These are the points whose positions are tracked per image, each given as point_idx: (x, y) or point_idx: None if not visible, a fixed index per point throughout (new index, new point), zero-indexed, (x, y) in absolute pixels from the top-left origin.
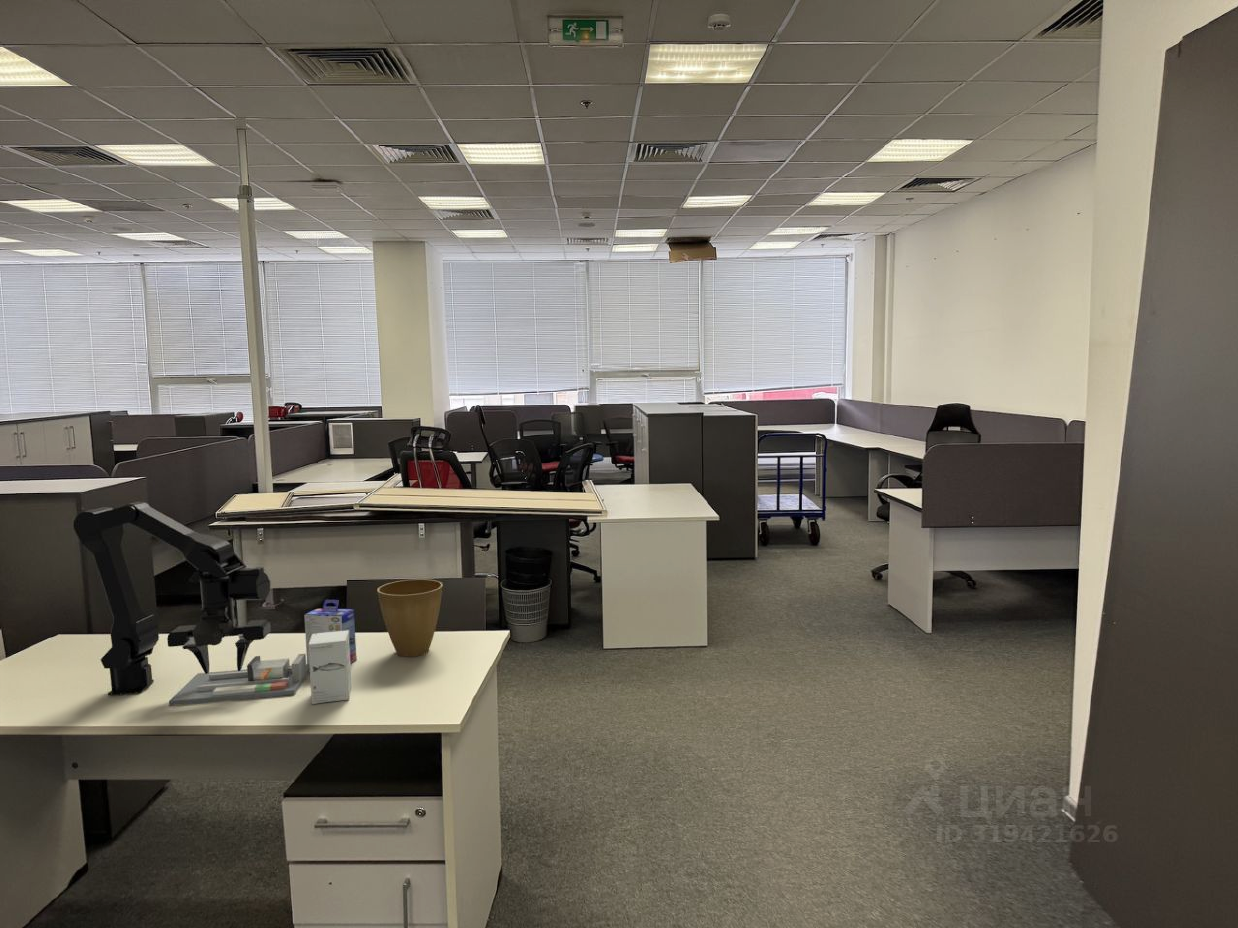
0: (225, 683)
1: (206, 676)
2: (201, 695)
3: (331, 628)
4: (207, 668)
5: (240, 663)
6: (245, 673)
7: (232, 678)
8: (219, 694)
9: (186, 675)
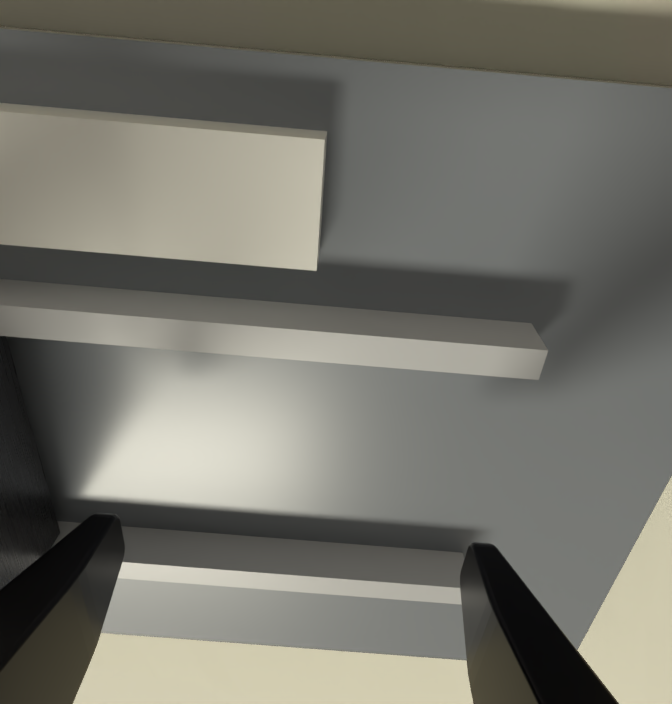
0: (236, 348)
1: None
2: (474, 178)
3: None
4: (478, 605)
5: (12, 586)
6: (154, 552)
7: (267, 523)
8: (250, 126)
9: (632, 679)
